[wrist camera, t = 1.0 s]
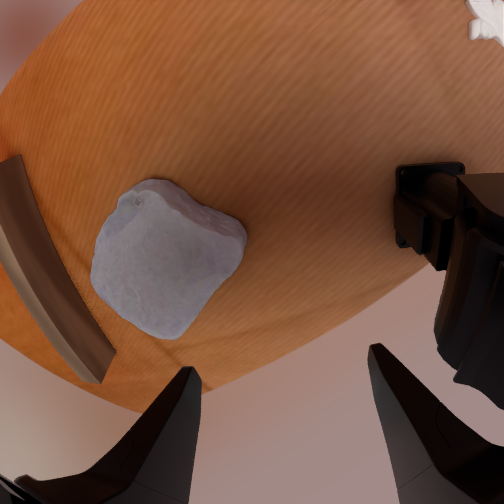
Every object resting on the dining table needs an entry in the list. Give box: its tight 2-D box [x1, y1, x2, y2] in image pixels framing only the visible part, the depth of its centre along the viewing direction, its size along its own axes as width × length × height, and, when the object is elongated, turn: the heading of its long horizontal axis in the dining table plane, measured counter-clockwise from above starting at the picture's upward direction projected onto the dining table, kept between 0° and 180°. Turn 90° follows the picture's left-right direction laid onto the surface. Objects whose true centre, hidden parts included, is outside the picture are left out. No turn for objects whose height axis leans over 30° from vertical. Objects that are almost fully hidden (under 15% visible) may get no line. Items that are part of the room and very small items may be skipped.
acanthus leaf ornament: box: [465, 0, 504, 47], centre depth 8 cm, size 8×7×2 cm
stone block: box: [90, 179, 247, 340], centre depth 20 cm, size 12×5×10 cm
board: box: [0, 154, 116, 384], centre depth 20 cm, size 3×24×5 cm, turn 12°
